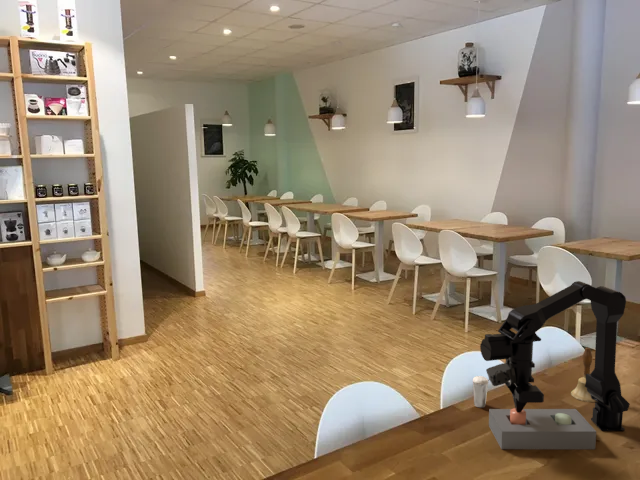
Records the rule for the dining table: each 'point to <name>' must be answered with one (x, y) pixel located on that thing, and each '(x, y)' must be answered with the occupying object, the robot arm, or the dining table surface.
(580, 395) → the hand bell
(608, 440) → the dining table surface
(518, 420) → the terracotta plug
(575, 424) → the console
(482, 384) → the milkshake
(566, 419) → the sage plug
